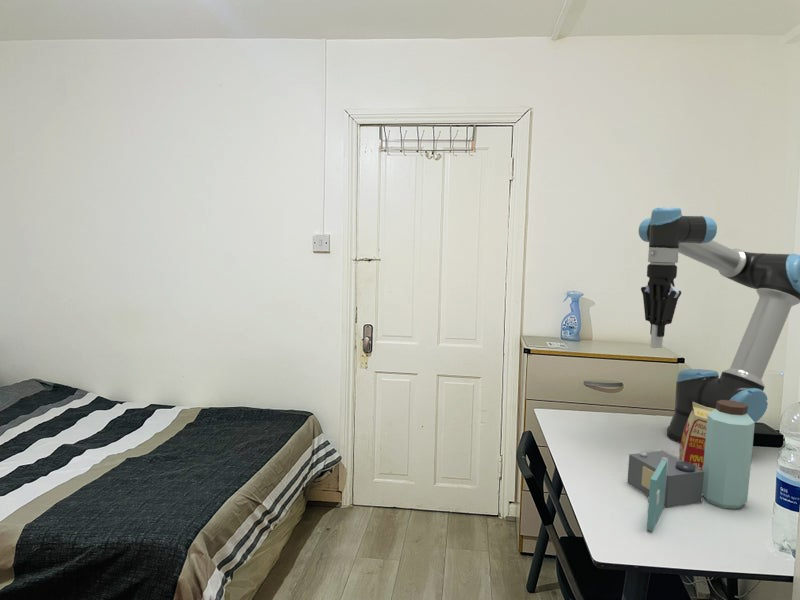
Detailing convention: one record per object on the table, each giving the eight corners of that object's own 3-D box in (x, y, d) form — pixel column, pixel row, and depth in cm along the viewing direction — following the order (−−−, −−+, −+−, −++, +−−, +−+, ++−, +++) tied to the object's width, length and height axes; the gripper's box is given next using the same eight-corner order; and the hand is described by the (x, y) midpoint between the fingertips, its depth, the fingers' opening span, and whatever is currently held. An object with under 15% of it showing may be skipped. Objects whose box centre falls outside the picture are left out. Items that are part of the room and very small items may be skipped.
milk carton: (681, 476, 154) (687, 405, 152) (677, 463, 163) (682, 396, 160) (718, 481, 151) (725, 409, 149) (712, 468, 159) (718, 400, 157)
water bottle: (746, 514, 133) (756, 412, 130) (699, 503, 138) (707, 405, 135) (746, 498, 141) (756, 402, 138) (702, 488, 146) (710, 395, 144)
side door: (658, 504, 136) (662, 456, 135) (665, 506, 135) (669, 458, 134) (646, 529, 124) (650, 477, 123) (653, 531, 123) (657, 479, 122)
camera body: (659, 478, 152) (662, 447, 151) (701, 502, 138) (704, 467, 137) (626, 483, 149) (628, 450, 148) (665, 507, 135) (668, 472, 134)
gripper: (634, 262, 160) (629, 343, 163) (669, 265, 148) (662, 352, 150) (656, 262, 162) (650, 342, 165) (691, 265, 150) (684, 351, 152)
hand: (656, 347), depth 158 cm, fingers closed
